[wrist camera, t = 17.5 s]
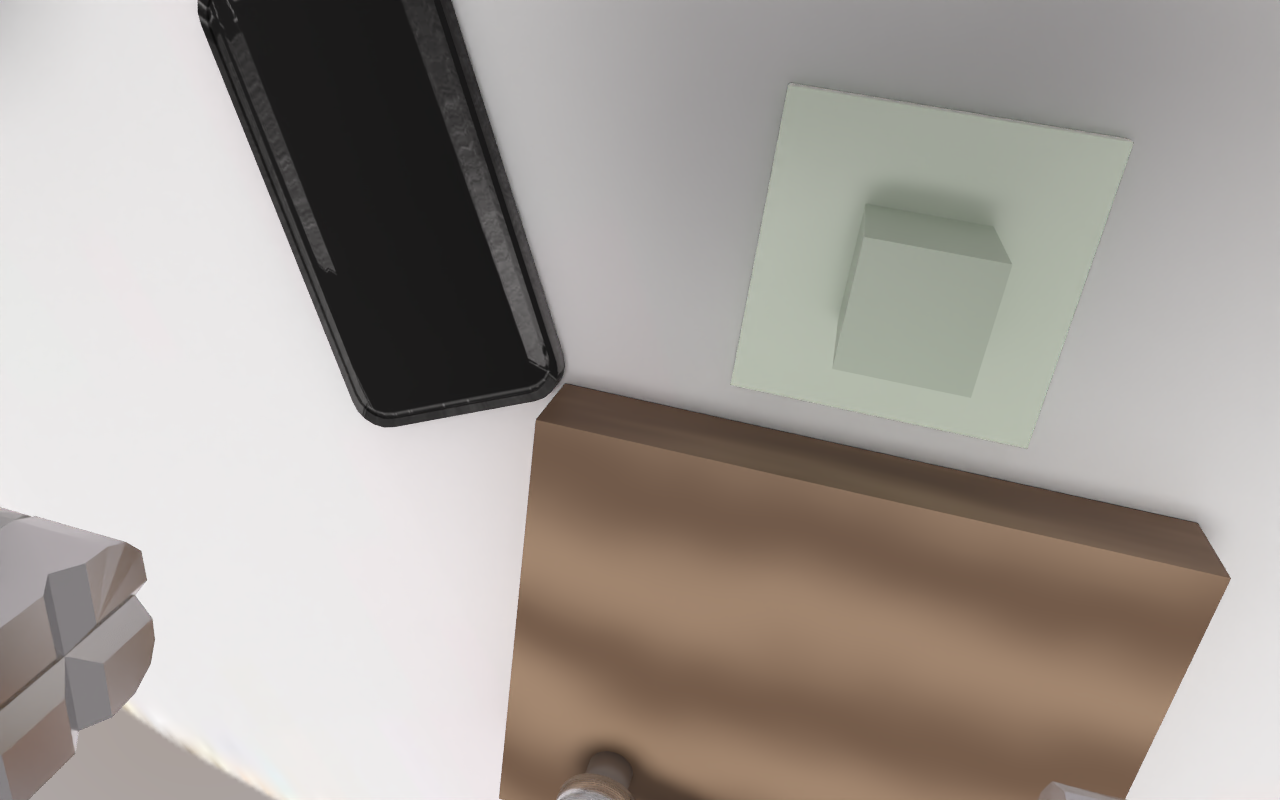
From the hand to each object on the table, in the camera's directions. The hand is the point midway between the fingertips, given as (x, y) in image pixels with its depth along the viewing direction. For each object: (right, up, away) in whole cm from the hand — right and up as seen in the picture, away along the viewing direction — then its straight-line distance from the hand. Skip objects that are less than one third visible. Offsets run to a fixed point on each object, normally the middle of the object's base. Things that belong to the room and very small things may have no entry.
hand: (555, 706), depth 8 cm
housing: (+7, -6, +25) cm, 27 cm away
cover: (+9, +7, +20) cm, 23 cm away
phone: (-7, +10, +23) cm, 25 cm away
